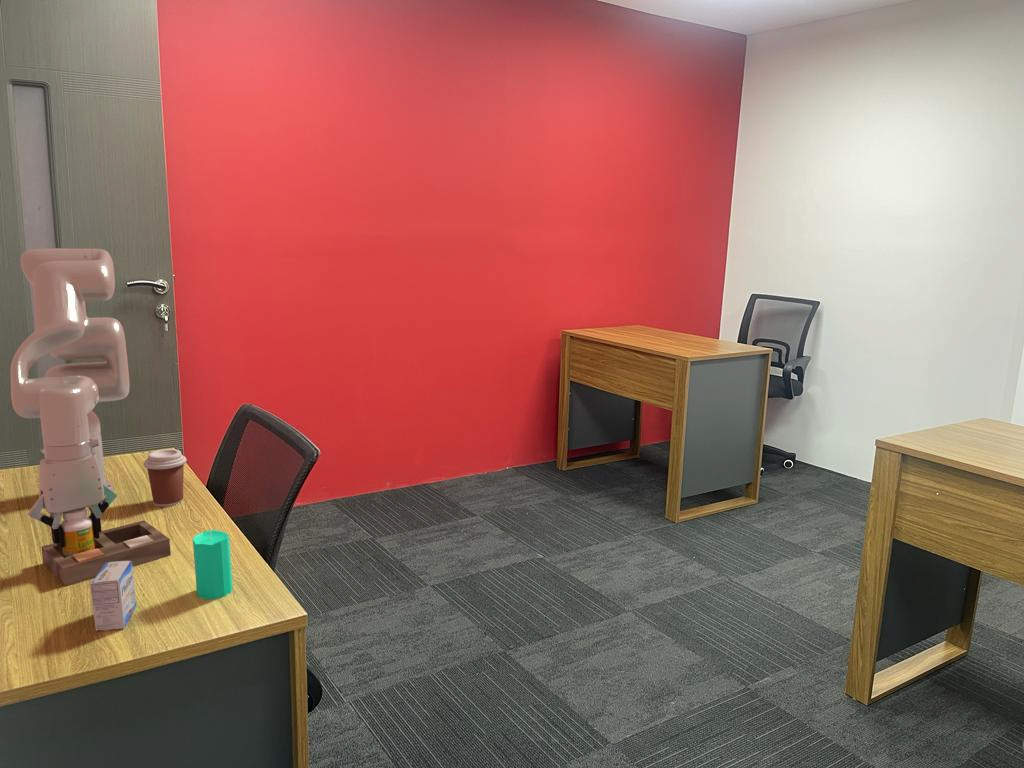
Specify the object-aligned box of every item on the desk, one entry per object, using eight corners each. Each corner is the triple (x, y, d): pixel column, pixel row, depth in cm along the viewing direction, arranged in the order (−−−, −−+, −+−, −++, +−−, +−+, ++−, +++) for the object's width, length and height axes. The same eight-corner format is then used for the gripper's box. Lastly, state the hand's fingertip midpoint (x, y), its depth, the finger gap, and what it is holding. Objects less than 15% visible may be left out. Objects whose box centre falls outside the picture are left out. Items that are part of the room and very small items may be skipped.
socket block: (43, 563, 148) (41, 544, 147) (145, 536, 161) (143, 518, 160) (64, 586, 139) (62, 566, 138) (170, 555, 152) (169, 537, 151)
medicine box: (124, 629, 125) (119, 580, 123) (94, 632, 124) (89, 582, 122) (137, 606, 132) (132, 559, 130) (109, 608, 131) (104, 561, 129)
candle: (196, 586, 139) (191, 525, 137) (231, 581, 142) (227, 520, 139) (197, 601, 134) (192, 537, 131) (233, 595, 136) (229, 532, 134)
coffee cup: (178, 492, 187) (174, 445, 184) (196, 501, 181) (193, 453, 178) (140, 502, 180) (135, 453, 177) (157, 512, 174) (153, 461, 171)
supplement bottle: (81, 564, 144) (76, 516, 142) (56, 561, 145) (51, 513, 143) (102, 552, 150) (97, 505, 148) (78, 550, 151) (72, 503, 149)
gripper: (109, 437, 152) (118, 523, 155) (9, 455, 140) (21, 548, 143) (123, 445, 146) (132, 534, 150) (20, 465, 134) (32, 560, 138)
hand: (77, 540), depth 147 cm, fingers closed on supplement bottle, 5 cm apart
